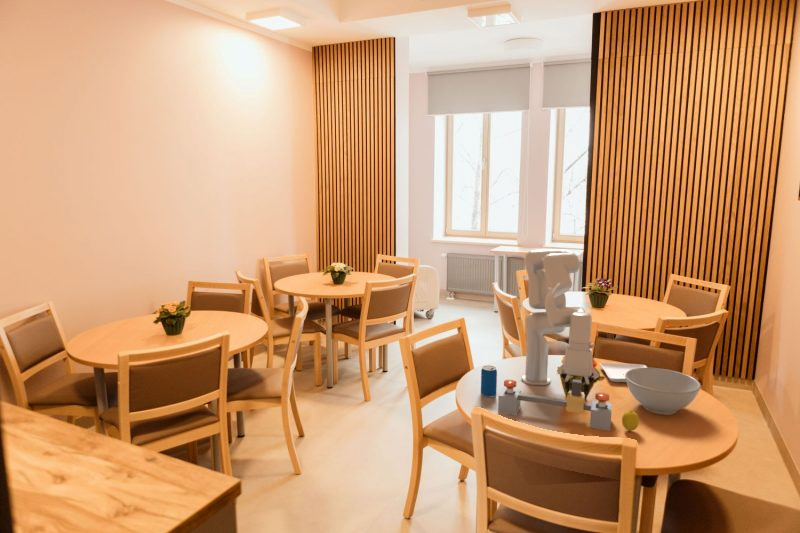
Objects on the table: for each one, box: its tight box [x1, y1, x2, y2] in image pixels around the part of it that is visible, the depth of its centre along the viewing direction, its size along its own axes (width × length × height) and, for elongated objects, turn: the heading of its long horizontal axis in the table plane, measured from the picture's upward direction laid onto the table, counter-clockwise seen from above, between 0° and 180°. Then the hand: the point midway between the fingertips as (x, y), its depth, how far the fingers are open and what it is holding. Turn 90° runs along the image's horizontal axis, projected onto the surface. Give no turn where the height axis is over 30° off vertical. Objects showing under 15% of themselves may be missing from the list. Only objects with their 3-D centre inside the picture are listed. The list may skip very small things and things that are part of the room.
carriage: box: [565, 378, 586, 415], centre depth 204 cm, size 6×6×11 cm
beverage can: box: [480, 365, 498, 398], centre depth 228 cm, size 6×6×12 cm
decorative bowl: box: [625, 367, 701, 416], centre depth 215 cm, size 27×27×12 cm
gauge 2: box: [594, 392, 610, 409], centre depth 201 cm, size 5×5×7 cm
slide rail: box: [497, 386, 613, 432], centre depth 208 cm, size 9×41×7 cm, turn 67°
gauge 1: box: [503, 379, 517, 395], centre depth 214 cm, size 5×5×7 cm
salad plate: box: [598, 362, 648, 383], centre depth 250 cm, size 21×21×3 cm
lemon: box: [621, 409, 640, 432], centre depth 196 cm, size 6×6×8 cm
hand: (576, 391), depth 204 cm, fingers open, 5 cm apart
